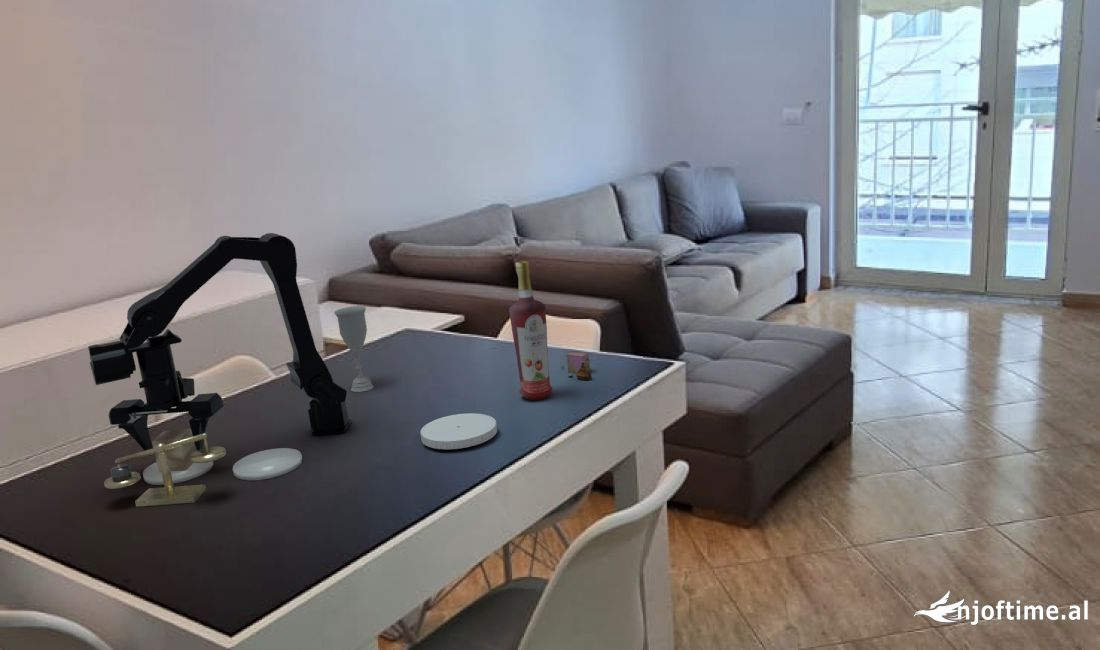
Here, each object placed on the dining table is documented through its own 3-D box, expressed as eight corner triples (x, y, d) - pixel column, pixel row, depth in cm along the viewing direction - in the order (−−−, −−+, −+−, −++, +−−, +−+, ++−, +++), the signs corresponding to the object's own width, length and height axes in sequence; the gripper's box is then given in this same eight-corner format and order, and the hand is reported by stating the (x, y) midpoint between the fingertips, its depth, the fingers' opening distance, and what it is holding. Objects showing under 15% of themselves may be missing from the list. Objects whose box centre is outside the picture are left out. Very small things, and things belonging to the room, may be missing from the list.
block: (197, 459, 171) (191, 428, 170) (185, 470, 166) (179, 439, 165) (171, 461, 171) (164, 430, 170) (159, 472, 167) (152, 441, 165)
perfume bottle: (552, 380, 200) (550, 360, 199) (582, 364, 210) (580, 344, 209) (599, 386, 194) (597, 365, 193) (628, 369, 203) (626, 349, 202)
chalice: (370, 393, 203) (358, 313, 198) (341, 393, 204) (328, 315, 200) (382, 382, 210) (371, 305, 205) (354, 383, 211) (342, 306, 207)
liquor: (526, 405, 185) (511, 268, 178) (513, 395, 192) (498, 263, 185) (560, 397, 188) (546, 261, 181) (545, 388, 195) (532, 257, 187)
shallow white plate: (310, 450, 172) (309, 445, 172) (290, 477, 161) (289, 472, 161) (247, 455, 173) (246, 450, 173) (223, 482, 162) (222, 477, 161)
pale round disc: (223, 455, 174) (222, 450, 174) (197, 482, 163) (196, 477, 163) (162, 460, 175) (161, 455, 175) (131, 487, 164) (130, 482, 163)
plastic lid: (406, 445, 171) (404, 432, 171) (462, 421, 181) (461, 408, 180) (456, 460, 162) (455, 447, 161) (513, 434, 172) (511, 421, 171)
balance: (238, 486, 159) (226, 426, 156) (226, 501, 154) (213, 438, 151) (119, 495, 161) (105, 435, 158) (103, 509, 155) (88, 448, 152)
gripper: (226, 353, 171) (241, 432, 175) (129, 362, 173) (146, 440, 177) (202, 372, 161) (219, 455, 165) (98, 380, 162) (117, 463, 166)
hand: (175, 453), depth 168 cm, fingers open, 9 cm apart
